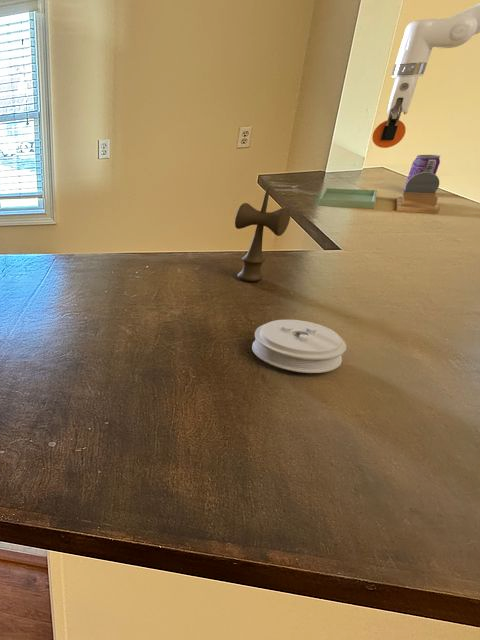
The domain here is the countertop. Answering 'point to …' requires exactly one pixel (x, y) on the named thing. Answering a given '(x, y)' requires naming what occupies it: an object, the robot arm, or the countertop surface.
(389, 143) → the orange disc
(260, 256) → the kendama
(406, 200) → the disc rack
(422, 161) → the beverage can
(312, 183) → the countertop surface
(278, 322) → the white round disc
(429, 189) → the slate disc
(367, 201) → the tray
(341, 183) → the countertop surface
